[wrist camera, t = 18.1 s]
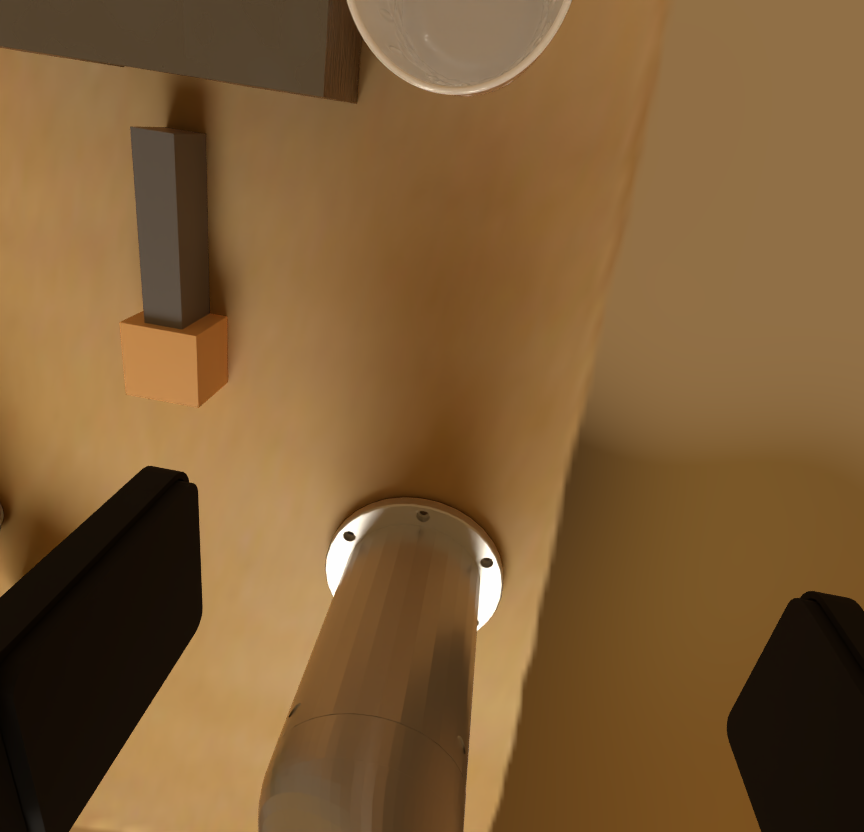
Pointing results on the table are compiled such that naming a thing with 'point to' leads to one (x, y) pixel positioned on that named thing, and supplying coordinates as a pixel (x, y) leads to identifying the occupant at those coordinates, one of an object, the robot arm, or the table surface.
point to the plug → (173, 275)
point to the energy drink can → (1, 515)
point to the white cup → (458, 39)
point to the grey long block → (200, 39)
